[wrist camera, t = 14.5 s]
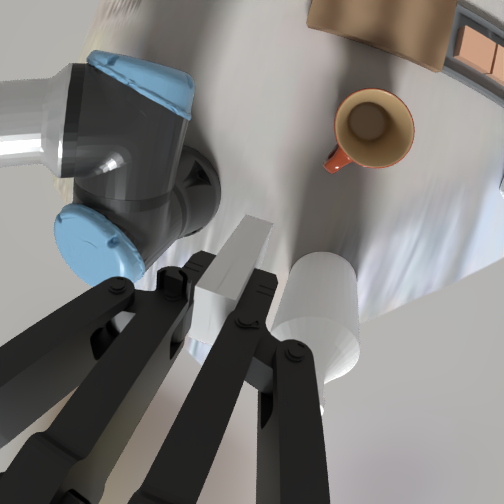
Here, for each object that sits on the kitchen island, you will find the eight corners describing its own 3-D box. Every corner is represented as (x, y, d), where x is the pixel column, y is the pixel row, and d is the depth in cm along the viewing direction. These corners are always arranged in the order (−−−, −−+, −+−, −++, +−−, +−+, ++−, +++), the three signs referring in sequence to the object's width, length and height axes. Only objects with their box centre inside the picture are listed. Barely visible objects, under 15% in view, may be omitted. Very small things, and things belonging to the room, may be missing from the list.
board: (308, 27, 33) (306, 22, 31) (326, -41, 27) (325, -49, 24) (434, 72, 31) (441, 71, 29) (450, 3, 25) (457, -2, 22)
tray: (437, 70, 31) (442, 69, 29) (451, 7, 25) (456, 3, 23) (523, 121, 29) (530, 123, 27) (536, 61, 24) (543, 61, 22)
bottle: (277, 293, 55) (235, 413, 34) (304, 238, 48) (271, 359, 27) (337, 318, 54) (324, 443, 33) (371, 268, 48) (380, 398, 27)
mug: (365, 76, 35) (374, 71, 26) (409, 124, 36) (430, 134, 27) (305, 134, 41) (295, 146, 32) (349, 179, 42) (352, 203, 34)
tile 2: (452, 57, 29) (459, 55, 27) (459, 28, 26) (465, 25, 24) (482, 73, 28) (489, 73, 26) (488, 44, 26) (496, 43, 24)
